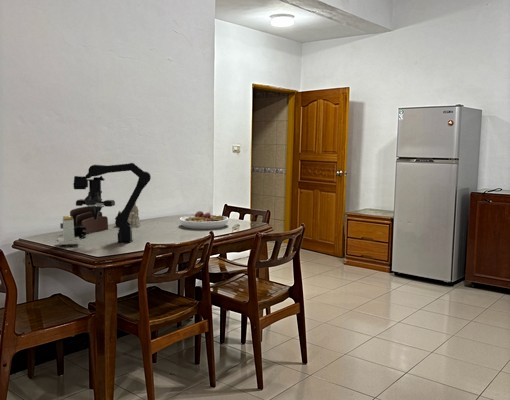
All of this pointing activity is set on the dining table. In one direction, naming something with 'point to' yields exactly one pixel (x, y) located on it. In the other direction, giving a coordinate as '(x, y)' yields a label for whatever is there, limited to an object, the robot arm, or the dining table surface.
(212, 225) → the bowl
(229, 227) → the dining table surface
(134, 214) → the ceramic cottage
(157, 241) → the dining table surface
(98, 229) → the letter holder
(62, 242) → the gray rectangular block
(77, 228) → the end cap
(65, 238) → the brushed metal block
